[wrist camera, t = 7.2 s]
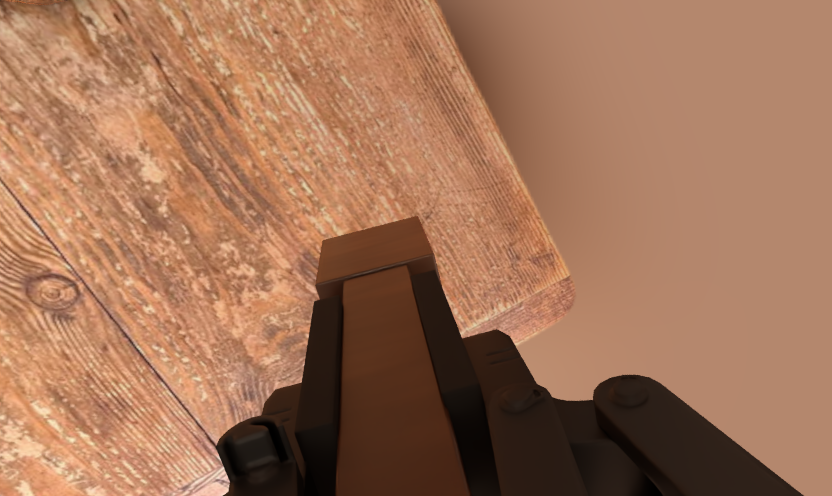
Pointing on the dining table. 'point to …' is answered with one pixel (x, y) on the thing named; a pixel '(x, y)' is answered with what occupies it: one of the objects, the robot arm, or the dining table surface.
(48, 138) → the dining table surface
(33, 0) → the bowl
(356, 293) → the stirring stick
